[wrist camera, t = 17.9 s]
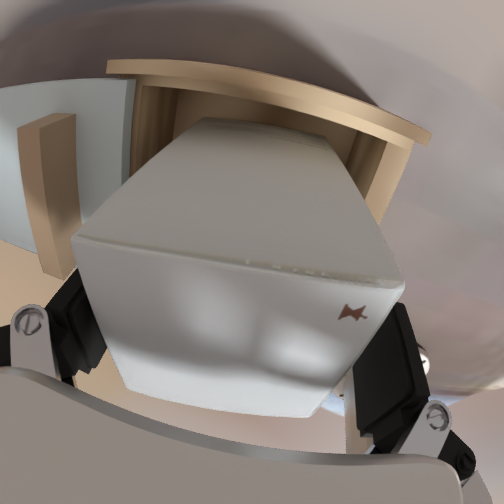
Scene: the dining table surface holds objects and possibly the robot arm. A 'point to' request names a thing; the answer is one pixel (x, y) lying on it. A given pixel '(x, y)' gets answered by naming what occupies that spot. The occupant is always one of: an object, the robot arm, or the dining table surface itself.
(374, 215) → the box
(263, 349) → the supplement box
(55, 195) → the lid
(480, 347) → the dining table surface
